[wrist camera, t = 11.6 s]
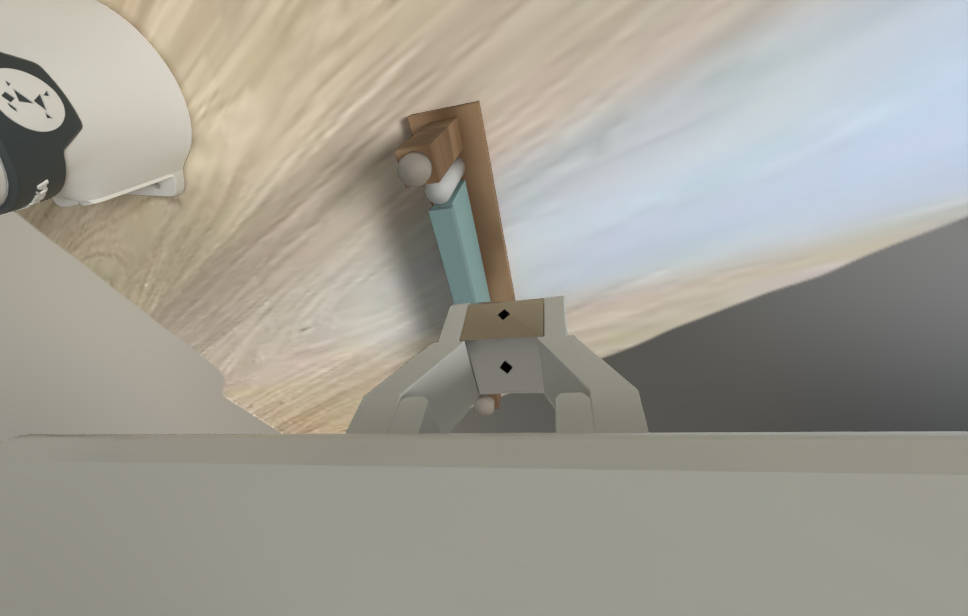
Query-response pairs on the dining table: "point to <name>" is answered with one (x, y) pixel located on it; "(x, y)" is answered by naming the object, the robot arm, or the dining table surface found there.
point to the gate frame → (429, 161)
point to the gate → (457, 236)
